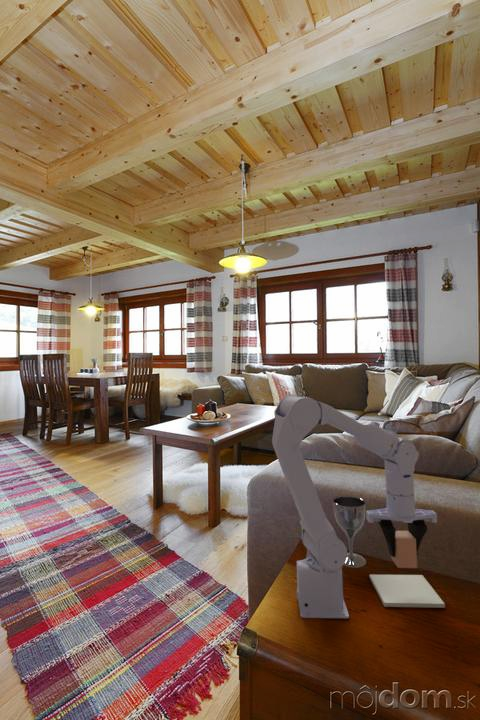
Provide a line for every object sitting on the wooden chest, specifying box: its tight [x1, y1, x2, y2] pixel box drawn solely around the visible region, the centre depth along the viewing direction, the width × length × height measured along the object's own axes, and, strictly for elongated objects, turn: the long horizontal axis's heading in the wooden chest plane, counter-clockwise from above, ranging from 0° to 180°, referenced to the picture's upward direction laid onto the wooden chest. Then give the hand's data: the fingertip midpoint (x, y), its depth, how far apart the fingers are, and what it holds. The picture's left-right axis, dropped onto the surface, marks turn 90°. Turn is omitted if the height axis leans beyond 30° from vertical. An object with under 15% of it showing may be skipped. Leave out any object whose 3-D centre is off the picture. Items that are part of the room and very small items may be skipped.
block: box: [390, 530, 418, 569], centre depth 76 cm, size 4×4×6 cm
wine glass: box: [332, 495, 367, 569], centre depth 89 cm, size 8×8×15 cm
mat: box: [369, 574, 446, 609], centre depth 76 cm, size 12×10×1 cm
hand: (402, 554), depth 76 cm, fingers closed on block, 4 cm apart
